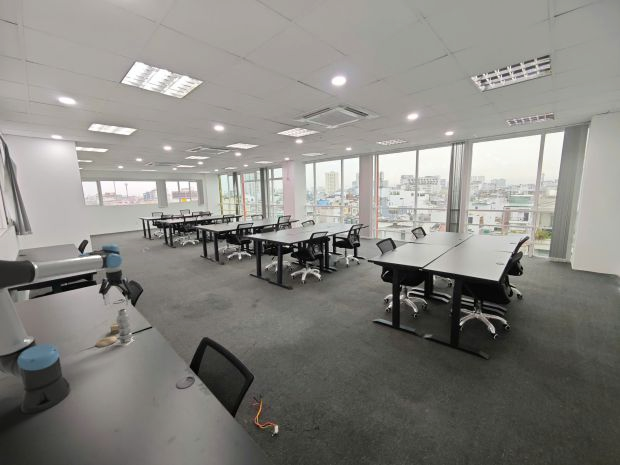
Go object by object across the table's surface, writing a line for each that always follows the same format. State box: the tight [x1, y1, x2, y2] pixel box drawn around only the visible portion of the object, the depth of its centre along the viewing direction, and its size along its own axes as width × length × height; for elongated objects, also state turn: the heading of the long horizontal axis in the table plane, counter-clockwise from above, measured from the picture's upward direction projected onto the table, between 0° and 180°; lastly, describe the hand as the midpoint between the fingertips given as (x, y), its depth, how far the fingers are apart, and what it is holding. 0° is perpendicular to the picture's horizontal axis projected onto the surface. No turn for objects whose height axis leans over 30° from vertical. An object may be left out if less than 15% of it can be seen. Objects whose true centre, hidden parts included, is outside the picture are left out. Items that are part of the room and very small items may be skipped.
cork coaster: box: [95, 336, 118, 348], centre depth 154 cm, size 10×10×1 cm
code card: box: [113, 336, 135, 347], centre depth 155 cm, size 9×9×1 cm
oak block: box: [110, 322, 119, 335], centre depth 166 cm, size 5×5×5 cm
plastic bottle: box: [115, 308, 133, 342], centre depth 153 cm, size 6×7×20 cm
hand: (118, 304), depth 153 cm, fingers open, 13 cm apart
